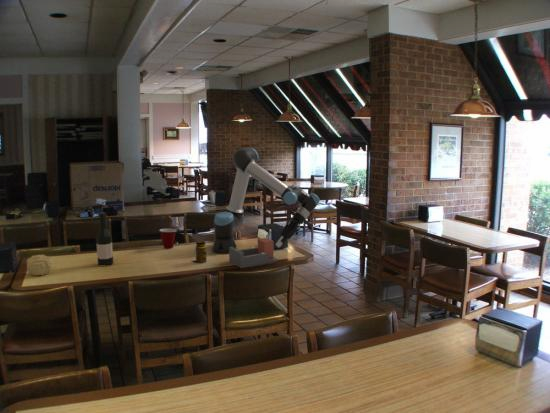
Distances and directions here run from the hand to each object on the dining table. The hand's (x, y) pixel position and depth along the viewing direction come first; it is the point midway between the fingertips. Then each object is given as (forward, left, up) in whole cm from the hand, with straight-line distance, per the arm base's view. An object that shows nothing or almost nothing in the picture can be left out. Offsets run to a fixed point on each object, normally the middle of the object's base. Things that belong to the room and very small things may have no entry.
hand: (277, 246), depth 286 cm
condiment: (-16, -43, -7) cm, 46 cm away
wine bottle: (-39, -91, -7) cm, 99 cm away
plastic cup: (-54, -49, -7) cm, 73 cm away
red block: (0, -8, -5) cm, 9 cm away
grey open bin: (0, -16, -7) cm, 17 cm away
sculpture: (-39, -125, -7) cm, 131 cm away
